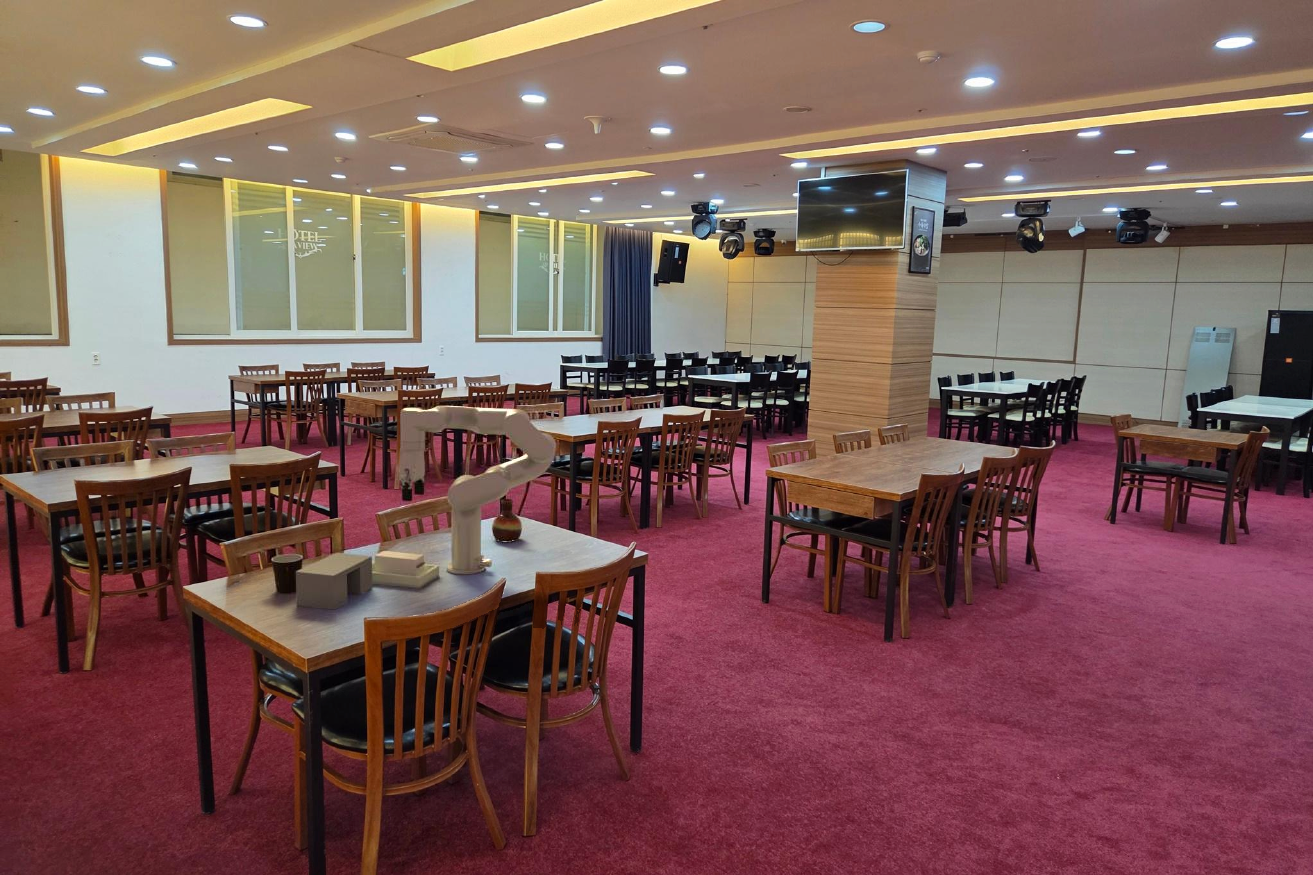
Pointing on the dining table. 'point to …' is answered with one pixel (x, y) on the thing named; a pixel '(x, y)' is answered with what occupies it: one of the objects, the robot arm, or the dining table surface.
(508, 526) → the vase
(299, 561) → the coffee mug
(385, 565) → the tan cardboard box
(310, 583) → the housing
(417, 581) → the tray
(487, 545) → the dining table surface
